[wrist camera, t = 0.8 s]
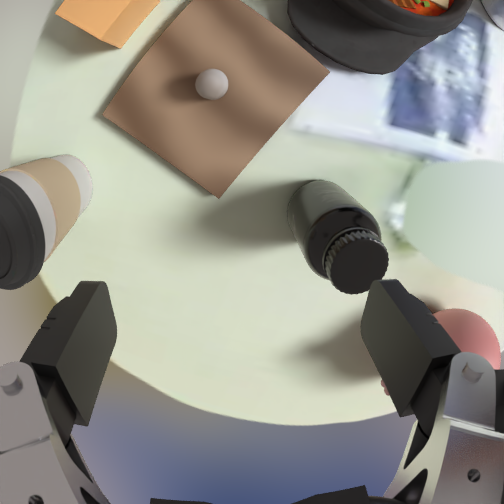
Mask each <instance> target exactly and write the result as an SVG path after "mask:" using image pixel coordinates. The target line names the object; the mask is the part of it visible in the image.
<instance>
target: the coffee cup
mask: <svg viewBox="0 0 504 504" xmlns="http://www.w3.org/2000/svg"><path fill="white" fill-rule="evenodd" d="M92 193H93V182H92V177H91V174H90V172H89V170H88V168H87V167H86V165H85V164H84V163H83V162H82V161H81V160H80V159H78V158H77V157H74V156H72V155H60V156H56V157H52V158H44V159H39V160H35V161H32V162H28V163H25V164H21V165H18V166H15V167H11V168H8V169H5V170H2V171H0V288H1V289H7V290H13V289H17V288H20V287H21V286H23V285H24V284H26V283H28V282H30V281H32V280H33V279H34V278H35V277H36V276H37V275H38V273H39V272H40V270H41V268H42V266H43V263H44V262H45V261H46V260H47V259H48V258H49V257H50V256H51V254H52V253H53V252H54V250H55V249H56V247H57V246H58V245H59V243H60V242H61V241H62V239H63V238H64V237H65V235H66V234H67V233H68V232H69V230H70V229H71V228H72V226H73V225H74V224H75V222H76V220H77V218H78V217H79V216H80V215H81V214H82V212H83V211H84V210H85V209H86V208H87V206H88V205H89V203H90V201H91V198H92Z"/></svg>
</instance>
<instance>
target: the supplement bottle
mask: <svg viewBox="0 0 504 504" xmlns="http://www.w3.org/2000/svg"><path fill="white" fill-rule="evenodd" d="M287 217H288V222H289V225H290V228H291V230H292V232H293V234H294V236H295V238H296V240H297V243H298V245H299V247H300V249H301V251H302V253H303V255H304V258H305V260H306V262H307V263H308V265H309V267H310V268H311V269H312V271H313V272H315V273H316V274H317V275H318V276H320V277H322V278H324V279H327V280H330V281H331V283H332V285H333V286H335V288H336V289H338V290H340V291H341V292H344V293H346V294H358V293H363V292H365V291H368V290H369V289H370V286H371V284H372V282H373V281H374V280H382V277H383V276H384V275H385V272H386V271H387V267H388V261H389V258H388V253H387V249H386V247H385V246H384V245H383V243H382V242H381V231H380V227H379V225H378V223H377V221H376V219H375V218H374V217H373V216H372V214H371V213H370V212H368V211H367V210H366V209H365V208H364V207H363V206H362V205H361V204H360V203H358V202H357V201H356V200H355V199H354V198H353V197H352V196H350V195H349V194H348V193H347V192H346V191H345V190H343V189H342V188H341V187H340V186H338V185H337V184H335V183H333V182H330V181H324V180H318V181H312V182H309V183H307V184H305V185H303V186H302V187H300V188H299V189H298V190H297V191H296V192H295V193H294V195H293V196H292V198H291V200H290V202H289V205H288V210H287Z"/></svg>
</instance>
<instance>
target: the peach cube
mask: <svg viewBox="0 0 504 504" xmlns="http://www.w3.org/2000/svg"><path fill="white" fill-rule="evenodd" d="M159 2H160V0H64V2H63V3H62V4H61V6H60V7H59V8H58V10H57V11H56V12H55V14H56V15H58V16H60V17H62V18H63V19H65V20H67V21H69V22H70V23H72V24H74V25H76V26H77V27H79V28H81V29H83V30H84V31H86V32H88V33H89V34H91V35H93V36H94V37H96V38H98V39H99V40H101V41H104V42H106V43H109V44H111V45H113V46H116V47H118V48H120V49H121V48H122V46H123V45H124V44H125V42H126V41H127V40H128V39H129V37H130V36H131V35H132V34H133V32H134V31H135V30H136V29H137V27H138V26H139V25H140V24H141V23H142V22H143V20H144V19H145V18H146V17H147V16H148V15H149V13H150V12H151V11H152V10H153V9H154V8H155V7H156V6H157V4H158V3H159Z"/></svg>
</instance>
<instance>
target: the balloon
mask: <svg viewBox="0 0 504 504" xmlns="http://www.w3.org/2000/svg"><path fill="white" fill-rule="evenodd" d="M432 315H434V316H435V318H436V319H437V320H438V323H439V324H441V325H442V327H443V328H444V329H445V330H446V332H447V333H448V334H449V336H450V337H451V338H452V340H453V341H454V342H455V344H456V345H457V346H458V348H459V349H460V350H461V352H472V353H475V354H478V355H480V356H482V357H483V358H485V359H486V360H487V361H488V362H489V363H490V364H491V365H492V367H493V369H500V363H501V353H500V346H499V342H498V339H497V337H496V334H495V332H494V331H493V329H492V328H491V326H490V325H489V324H488V323H487V322H486V321H485V320H484V319H483V318H482V317H480V316H479V315H477V314H475V313H473V312H471V311H468V310H464V309H446V310H442V311H438V312H436V313H434V314H432ZM381 385H382V386H383V387H384V392H385V393H386V395H388V396H389V395H390V394H389V392H388V390H387V388H386V386H385V384H384V382H383V380H382V381H381Z"/></svg>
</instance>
